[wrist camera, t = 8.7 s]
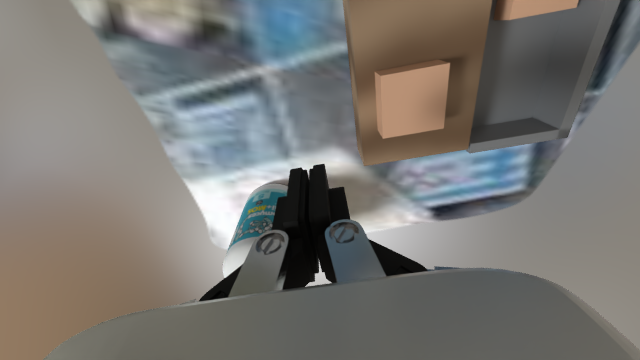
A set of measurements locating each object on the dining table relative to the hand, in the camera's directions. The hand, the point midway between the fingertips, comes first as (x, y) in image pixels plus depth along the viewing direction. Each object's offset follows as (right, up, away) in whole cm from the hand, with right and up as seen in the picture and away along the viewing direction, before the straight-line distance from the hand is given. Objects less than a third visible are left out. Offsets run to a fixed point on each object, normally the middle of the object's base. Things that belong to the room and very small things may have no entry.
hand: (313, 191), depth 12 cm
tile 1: (+8, +8, +9) cm, 14 cm away
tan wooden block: (+8, +12, +10) cm, 18 cm away
